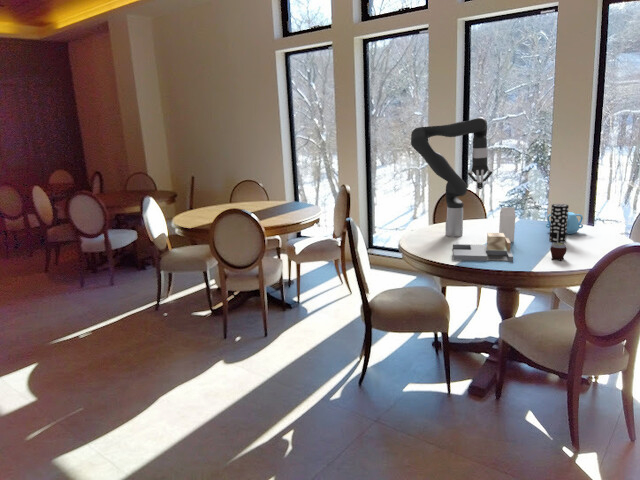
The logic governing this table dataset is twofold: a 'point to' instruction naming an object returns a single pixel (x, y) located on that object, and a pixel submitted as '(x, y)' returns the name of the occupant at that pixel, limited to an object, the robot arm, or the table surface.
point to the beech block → (495, 241)
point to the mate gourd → (558, 250)
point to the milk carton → (507, 222)
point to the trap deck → (482, 252)
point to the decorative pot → (570, 222)
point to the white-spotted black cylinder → (558, 222)
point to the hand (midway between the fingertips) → (480, 189)
